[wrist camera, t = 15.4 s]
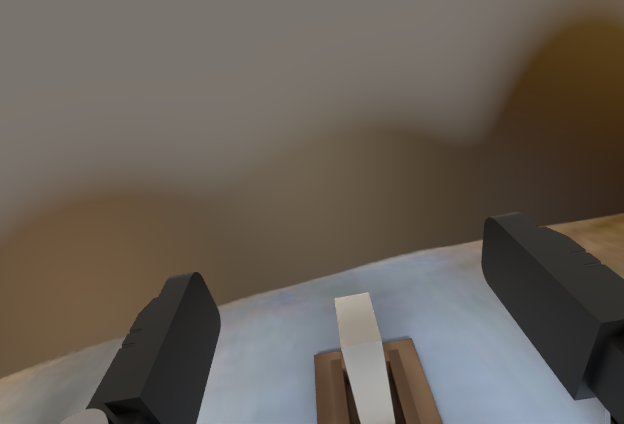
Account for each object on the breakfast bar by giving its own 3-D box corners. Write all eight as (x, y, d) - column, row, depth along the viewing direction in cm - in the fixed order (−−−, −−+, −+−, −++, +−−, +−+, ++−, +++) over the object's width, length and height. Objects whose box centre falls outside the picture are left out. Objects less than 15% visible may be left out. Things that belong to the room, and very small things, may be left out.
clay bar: (366, 444, 30) (341, 347, 24) (357, 392, 35) (334, 298, 28) (397, 439, 30) (381, 340, 24) (385, 388, 35) (368, 292, 28)
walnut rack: (324, 534, 26) (314, 514, 25) (315, 360, 40) (308, 339, 39) (473, 514, 26) (475, 492, 24) (412, 343, 40) (409, 321, 38)
